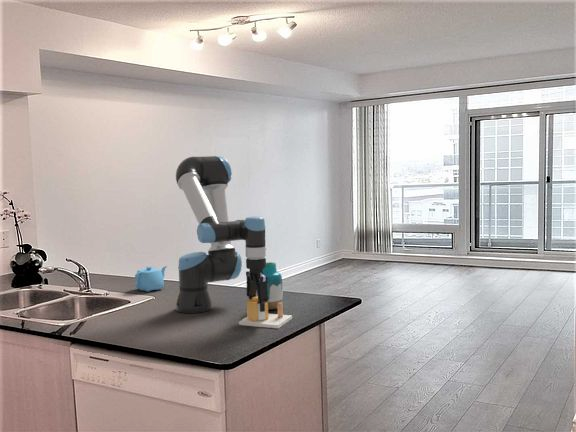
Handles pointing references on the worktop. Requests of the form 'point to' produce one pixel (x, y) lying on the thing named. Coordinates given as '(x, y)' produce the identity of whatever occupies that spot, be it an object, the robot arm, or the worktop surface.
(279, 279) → the vase
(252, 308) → the yellow toy brick
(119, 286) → the worktop surface
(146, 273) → the teapot
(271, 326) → the plate
